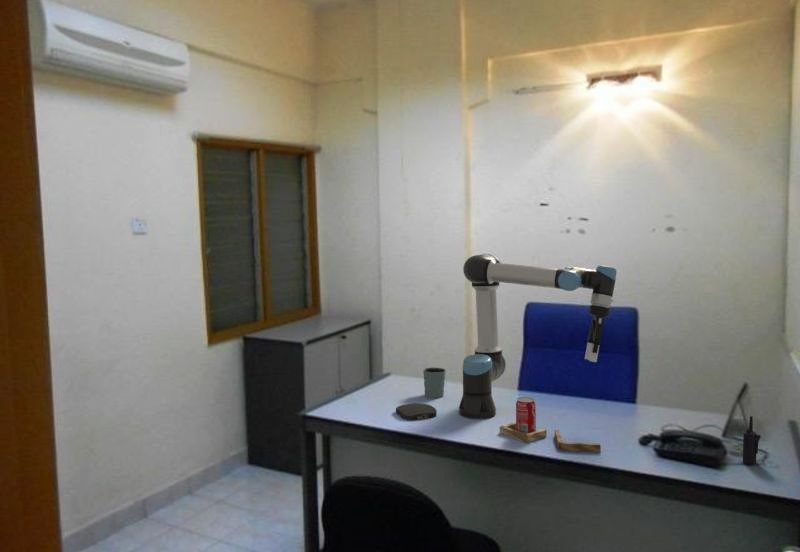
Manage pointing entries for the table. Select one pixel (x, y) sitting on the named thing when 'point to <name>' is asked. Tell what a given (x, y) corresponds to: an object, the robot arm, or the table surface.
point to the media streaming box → (416, 411)
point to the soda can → (525, 415)
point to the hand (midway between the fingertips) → (590, 360)
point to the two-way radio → (750, 444)
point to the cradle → (576, 445)
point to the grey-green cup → (434, 382)
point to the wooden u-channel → (511, 432)
